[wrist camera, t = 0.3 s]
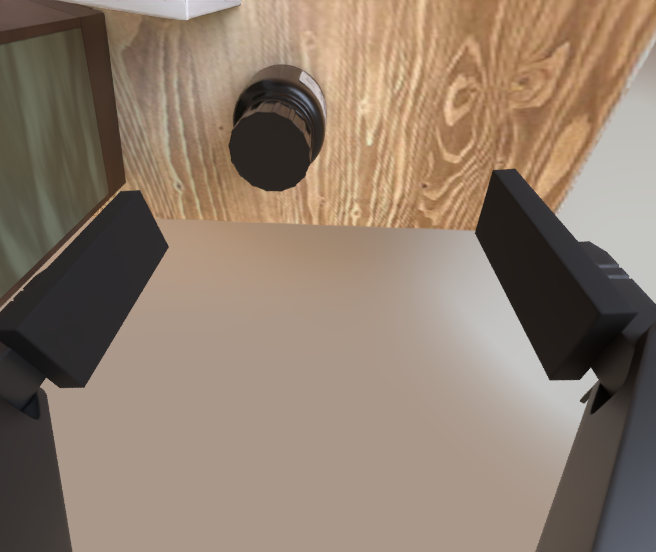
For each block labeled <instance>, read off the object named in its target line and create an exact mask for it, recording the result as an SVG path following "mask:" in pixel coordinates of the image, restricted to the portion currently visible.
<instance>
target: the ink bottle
mask: <svg viewBox="0 0 656 552" xmlns="http://www.w3.org/2000/svg"><path fill="white" fill-rule="evenodd" d="M325 127H326V103H325V98H324V95H323V93H322V90H321V88H320V86H319V85H318V83H317V82H316V81H315V80H314V79H313V78H312V77H311V76H310V75H309V74H308V73H306V72H305V71H303V70H301V69H299V68H297V67H294V66H290V65H273V66H269V67H267V68H265V69H263V70H261V71H260V72H258V73H257V74H256V75H255V76H254V77H253V79H252V80H251V81H250V82H249V84H248V85H247V86H246V88H245V89H244V90H243V91H242V93H241V94H240V96H239V98H238V100H237V102H236V105H235V108H234V113H233V130H232V132H231V133H232V135H231V139H230V143H229V149H230V155H231V161H232V163H233V164H234V166H235V168H236V169H237V171H238V172H239V175H240V176H241V177H243V178H244V179H245V180H246V181H248V182H249V183H250V184H251V185H252V186H255V187H258V188H261V189H263V190H265V191H283V190H286V189H289V188H291V187H295V186H296V184H297V183H299V182H300V181H301V180H302V179H303V178H304V177H305V176H306V172H307V170H308V167H309V166H310V164H311V163H312V162H313V161H314V160H315V159H316V157H317V156H318V154H319V152H320V150H321V148H322V145H323V142H324V137H325Z"/></svg>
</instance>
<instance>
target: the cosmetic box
mask: <svg viewBox="0 0 656 552" xmlns="http://www.w3.org/2000/svg"><path fill="white" fill-rule="evenodd" d="M58 1H64V2H69V3H75V4H81V5H87V6H93V7H99V8H105V9H111V10H117V11H123V12H130V13H136V14H142V15H148V16H154V17H161V18H168V19H175V20H185V21H187V20H188V19H191V18H195V17H198V16H202V15H206V14H209V13H213V12H217V11H221V10H224V9H228V8H232V7H235V6H239V5H241V0H58Z"/></svg>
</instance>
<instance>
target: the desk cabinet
mask: <svg viewBox="0 0 656 552" xmlns="http://www.w3.org/2000/svg"><path fill="white" fill-rule="evenodd" d="M125 183H126V180H125V173H124V165H123V157H122V149H121V142H120V134H119V126H118V118H117V110H116V103H115V95H114V87H113V79H112V72H111V64H110V56H109V48H108V41H107V33H106V25H105V17H104V13H103V12H100V11H97V10H94V9H91V8H88V7H86V6H83V5H80V4H75V3H69V2H64V1H58V0H0V307H1V306H2V305H3V304H4V303H5V302H6V301H7V300H8V299H9V298H10V297H11V296H12V295H13V294H14V293H15V292H16V291H17V290H18V289H19V288H20V287H21V286H22V285H23V284H25V283H26V282H27V280H29V279H30V278H31V277H32V275H33V274H35V272H36V271H38V270H39V268H40V267H42V266H43V264H45V262H47V260H48V259H50V258H51V257H52V256H53V254H55V253H56V252H57V251H58V250H59V248H60V247H62V246H63V244H64V243H65V242H66V241H68V240H69V239H70V238H71V237H72V236H73V235H74V234H75V233H76V232H77V231H78V230H79V229H80V228H81V227H82V226H83V225H84V224H85V223H86V222H87V221H88V220H89V219H90V218H91V217H92V216H93V215H94V214H95V213H96V212H97V211H98V210H99V209H100V208H101V207H102V206H103V205H104V204H105V203H106V202H107V201H108V200H109V199H110V198H111V197H112V196H113V195H114V194H115V193H116V192H117V191H118V190H119V189H120V188H121V187H122V186H123V185H124V184H125Z"/></svg>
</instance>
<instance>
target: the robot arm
mask: <svg viewBox="0 0 656 552" xmlns="http://www.w3.org/2000/svg"><path fill="white" fill-rule="evenodd" d="M475 234H476V236H477V238H478V240H479V242H480V244H481V246H482V248H483V250H484V252H485V254H486V256H487V258H488V260H489V262H490V264H491V266H492V268H493V270H494V271H495V274H496V276H497V277H498V279H499V281H500V283H501V285H502V287H503V289H504V291H505V293H506V295H507V297H508V299H509V301H510V303H511V305H512V307H513V309H514V311H515V313H516V315H517V317H518V319H519V321H520V323H521V324H522V326H523V329H524V331H525V333H526V335H527V337H528V338H529V340H530V342H531V344H532V346H533V348H534V350H535V352H536V354H537V356H538V358H539V360H540V362H541V364H542V366H543V368H544V370H545V372H546V374H547V376H548V378H549V380H580V379H581V378H582V377H583V376H584V374H585V373H586V372H587V371H588V370H589V369H590V368H592V370H593V371H594V373H595V374H596V376H597V378H598V379H599V380H598V381H597V382H596V383H595V385H594V386H593V387H592V388H591V389H590V390H589V391H588V392H587V393H586V394H585V395H584V396H583V397H582V399H581V400H580V402H582V403H585V402H586V401H587V400H588V399H589V400H588V402H587V406H586V408H585V411H584V414H583V417H582V420H581V423H580V426H579V428H578V432H577V434H576V437H575V440H574V443H573V446H572V449H571V451H570V454H569V457H568V460H567V463H566V466H565V468H564V471H563V474H562V477H561V480H560V483H559V486H558V488H557V491H556V494H555V497H554V500H553V503H552V506H551V509H550V511H549V514H548V517H547V520H546V523H545V526H544V529H543V532H542V534H541V537H540V540H539V543H538V546H537V549H536V552H656V304H655V303H654V302H653V301H652V300H651V299H650V298H649V297H648V296H647V294H646V293H644V291H643V290H642V289H641V288H640V287H639V286H638V285H637V284H636V283H635V282H634V281H633V280H632V279H629V275H628V274H627V273H626V272H625V271H624V270H623V269H622V268H619V264H617V262H616V261H615V260H614V259H613V258H612V257H611V256H610V255H609V254H608V253H607V252H606V251H604V250H603V249H601V248H599V247H598V246H596V245H594V244H593V243H591V242H589V241H588V242H578V241H577V240H576V239H575V238H574V236H573V235H572V234H571V233H570V232H569V231H568V229H567V228H566V227H565V226H564V225H563V224H562V223H561V221H560V220H559V219H558V218H557V217H556V216H555V214H554V213H553V212H552V211H551V210H550V209H549V207H548V206H547V205H546V204H545V203H544V202H543V201H542V199H541V198H540V197H539V196H538V195H537V194H536V192H535V191H534V190H533V189H532V188H531V187H530V186H529V184H528V183H527V182H526V181H525V180H524V179H523V177H522V176H521V175H520V174H519V173H518V172H517V170H516V169H505V170H493V172H492V175H491V179H490V182H489V186H488V189H487V193H486V196H485V200H484V203H483V207H482V210H481V214H480V217H479V221H478V224H477V228H476V231H475ZM167 249H168V244H167V242H166V241H165V239H164V237H163V235H162V233H161V231H160V229H159V227H158V226H157V223H156V221H155V219H154V217H153V215H152V213H151V211H150V209H149V207H148V205H147V203H146V202H145V200H144V198H143V196H142V194H141V192H140V190H137V191H121V192H120V193H119V194H118V195H117V196H116V197H115V198H114V199H113V200H112V201H111V202H110V203H109V204H108V205H107V206H106V207H105V208H104V209H103V210H102V211H101V212H100V213H99V214H98V216H97V217H96V218H95V219H94V220H93V221H92V222H91V223H90V224H89V225H88V226H87V227H86V228H85V229H84V230H83V231H82V232H81V233H80V234H79V236H77V237H76V238H75V240H74V241H73V242H72V243H71V244H70V245H69V246H68V247H67V248H66V249H65V250H64V251H63V252H62V253H61V254H60V255H59V256H58V257H57V258H56V259H55V260H54V261H53V262H52V263H51V265H49V267H48V268H47V269H45V270H44V271H42V272H41V273H39V274H38V275H36V276H35V277H34V278H33V279H32V280H31V281H30V282H29V283H28V284H27V285H26V286H25V287H24V288H23V289H24V290H23V291H20V292H19V293H18V294H17V295H16V296H15V297H14V301H11V302H9V303H8V304H7V306H6V307H5V308H4V309H3V310H2V311H1V312H0V552H72V547H71V541H70V534H69V528H68V523H67V516H66V510H65V504H64V498H63V492H62V485H61V480H60V473H59V468H58V461H57V455H56V448H55V442H54V436H53V430H52V424H51V418H50V412H49V406H48V399H47V395H46V393H45V391H44V390H43V389H42V388H40V385H41V384H42V383H43V381H44V380H45V378H48V379H49V380H50V381H52V382H53V383H54V384H55V385H57V386H58V387H59V388H82V387H83V388H84V387H85V385H86V384H87V382H88V380H89V379H90V377H91V375H92V374H93V372H94V370H95V369H96V367H97V365H98V364H99V362H100V361H101V359H102V357H103V356H104V354H105V352H106V351H107V349H108V347H109V346H110V344H111V342H112V341H113V339H114V337H115V336H116V334H117V332H118V331H119V329H120V327H121V326H122V324H123V322H124V320H125V319H126V317H127V315H128V314H129V312H130V310H131V309H132V307H133V306H134V304H135V302H136V301H137V299H138V297H139V295H140V294H141V292H142V291H143V289H144V287H145V286H146V284H147V282H148V280H149V279H150V277H151V276H152V274H153V272H154V271H155V269H156V267H157V266H158V264H159V262H160V261H161V259H162V257H163V256H164V254H165V252H166V251H167Z"/></svg>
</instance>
